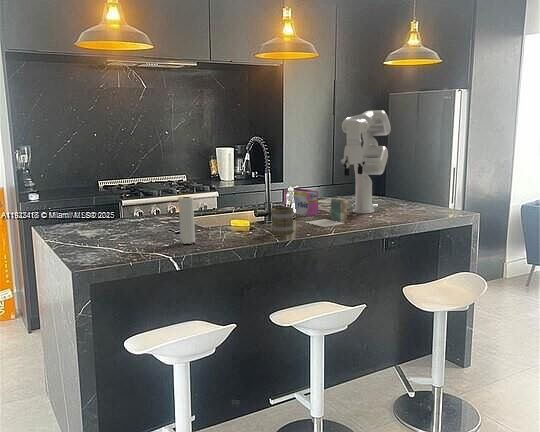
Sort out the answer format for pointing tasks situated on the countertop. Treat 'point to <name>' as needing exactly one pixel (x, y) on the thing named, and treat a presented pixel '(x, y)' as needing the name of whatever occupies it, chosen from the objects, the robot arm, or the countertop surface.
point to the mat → (324, 223)
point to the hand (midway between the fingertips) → (353, 174)
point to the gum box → (304, 201)
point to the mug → (282, 220)
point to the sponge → (338, 210)
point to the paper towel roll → (186, 219)
